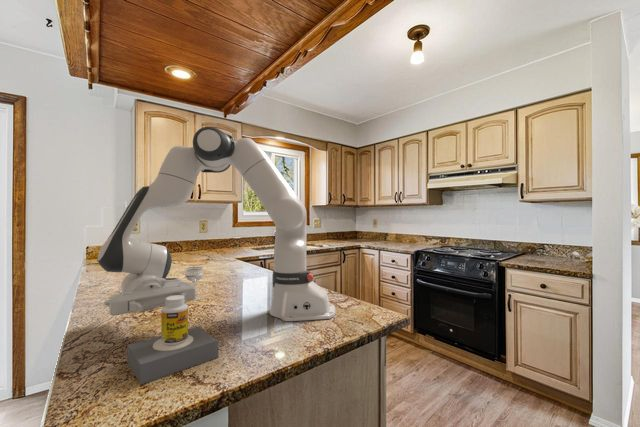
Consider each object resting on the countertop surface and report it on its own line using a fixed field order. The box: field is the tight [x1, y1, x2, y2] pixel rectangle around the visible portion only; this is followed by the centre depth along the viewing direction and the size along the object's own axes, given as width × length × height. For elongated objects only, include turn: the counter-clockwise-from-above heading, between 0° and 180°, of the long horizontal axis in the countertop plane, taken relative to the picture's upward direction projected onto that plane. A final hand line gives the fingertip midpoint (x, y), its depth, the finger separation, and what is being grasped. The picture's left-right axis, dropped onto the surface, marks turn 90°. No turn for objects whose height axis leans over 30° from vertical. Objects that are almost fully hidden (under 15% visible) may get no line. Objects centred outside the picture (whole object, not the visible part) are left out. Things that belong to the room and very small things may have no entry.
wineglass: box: [184, 266, 204, 301], centre depth 118 cm, size 7×7×12 cm
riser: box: [126, 325, 219, 385], centre depth 69 cm, size 16×12×4 cm
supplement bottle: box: [160, 295, 189, 345], centre depth 69 cm, size 6×6×10 cm
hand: (163, 304), depth 74 cm, fingers open, 8 cm apart
